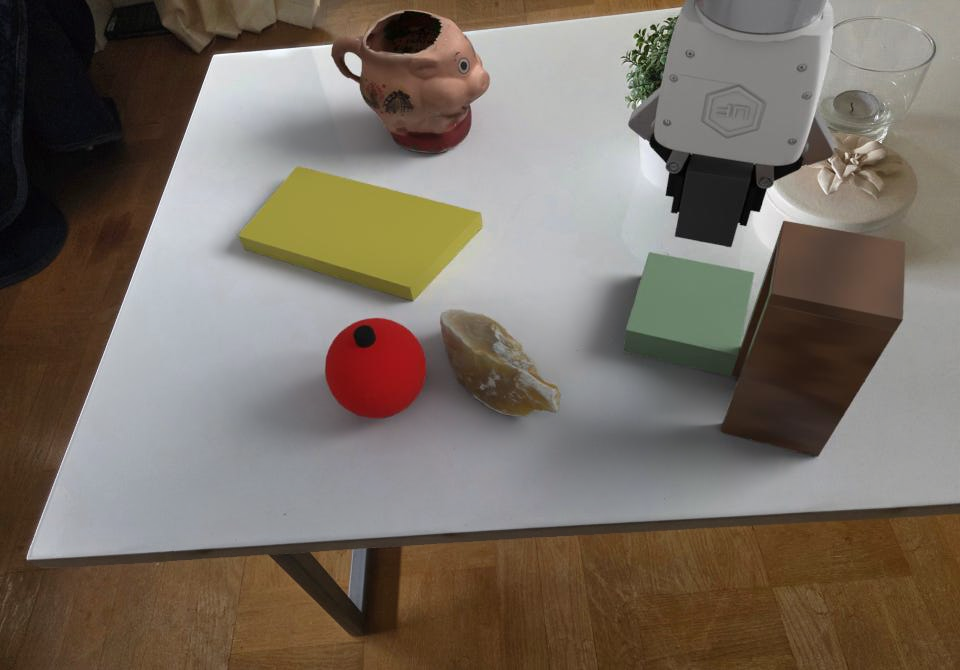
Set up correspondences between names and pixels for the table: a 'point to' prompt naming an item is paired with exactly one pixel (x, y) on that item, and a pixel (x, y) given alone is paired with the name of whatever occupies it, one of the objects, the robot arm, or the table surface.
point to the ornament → (375, 368)
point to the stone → (494, 365)
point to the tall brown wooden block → (814, 334)
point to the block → (713, 199)
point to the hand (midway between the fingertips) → (711, 205)
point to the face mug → (417, 77)
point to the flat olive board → (360, 232)
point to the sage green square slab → (689, 313)
